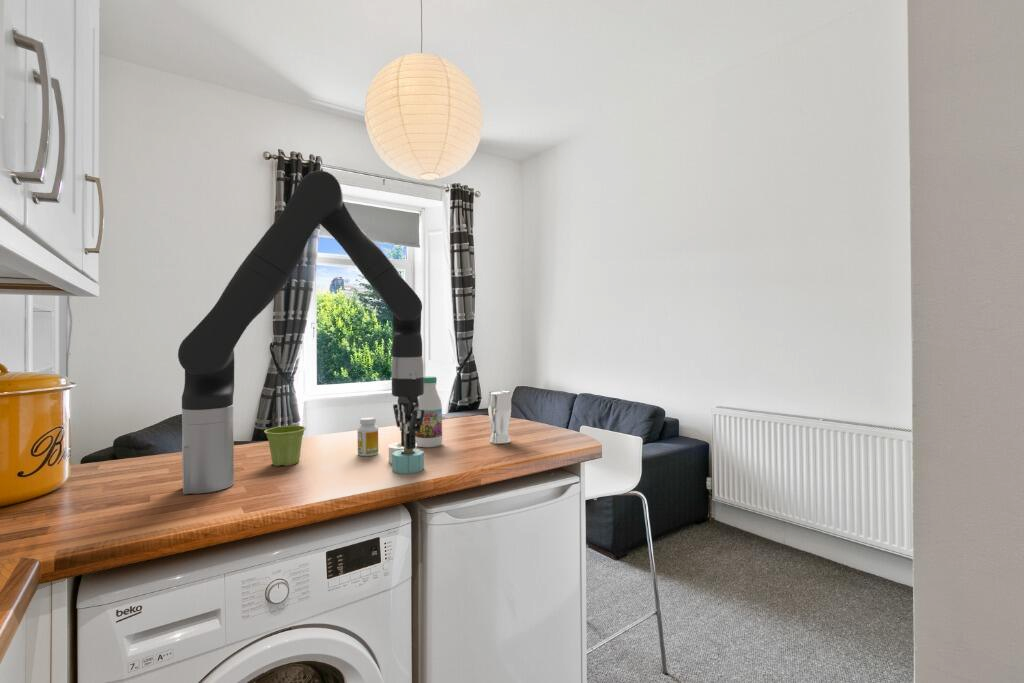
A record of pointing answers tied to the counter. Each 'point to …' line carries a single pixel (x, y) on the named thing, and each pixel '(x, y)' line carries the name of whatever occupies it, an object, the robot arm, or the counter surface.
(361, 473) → the counter surface
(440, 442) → the milk bottle
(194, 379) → the robot arm
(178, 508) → the counter surface
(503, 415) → the beer glass
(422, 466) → the teal bead
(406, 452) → the needle dowel
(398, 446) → the cream bead
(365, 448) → the supplement bottle
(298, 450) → the plant pot
